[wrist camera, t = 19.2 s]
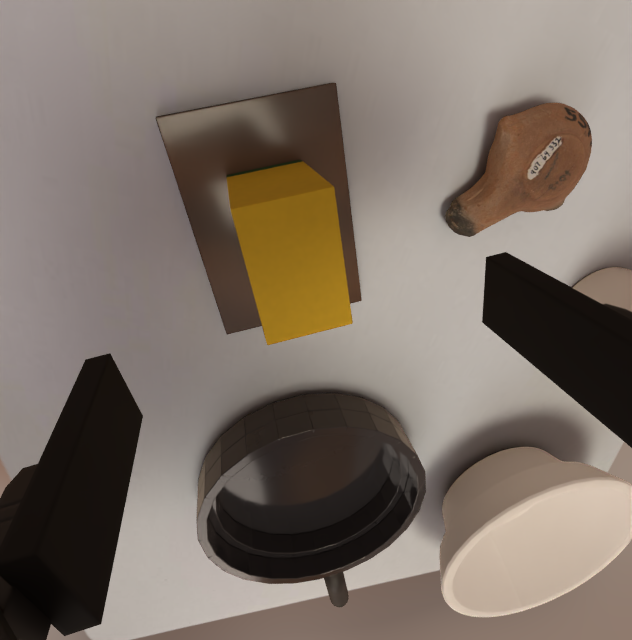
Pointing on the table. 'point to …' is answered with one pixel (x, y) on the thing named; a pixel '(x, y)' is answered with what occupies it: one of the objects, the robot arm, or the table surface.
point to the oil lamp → (526, 167)
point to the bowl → (528, 530)
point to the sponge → (291, 249)
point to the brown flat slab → (246, 154)
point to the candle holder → (609, 287)
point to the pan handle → (337, 589)
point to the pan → (307, 489)
